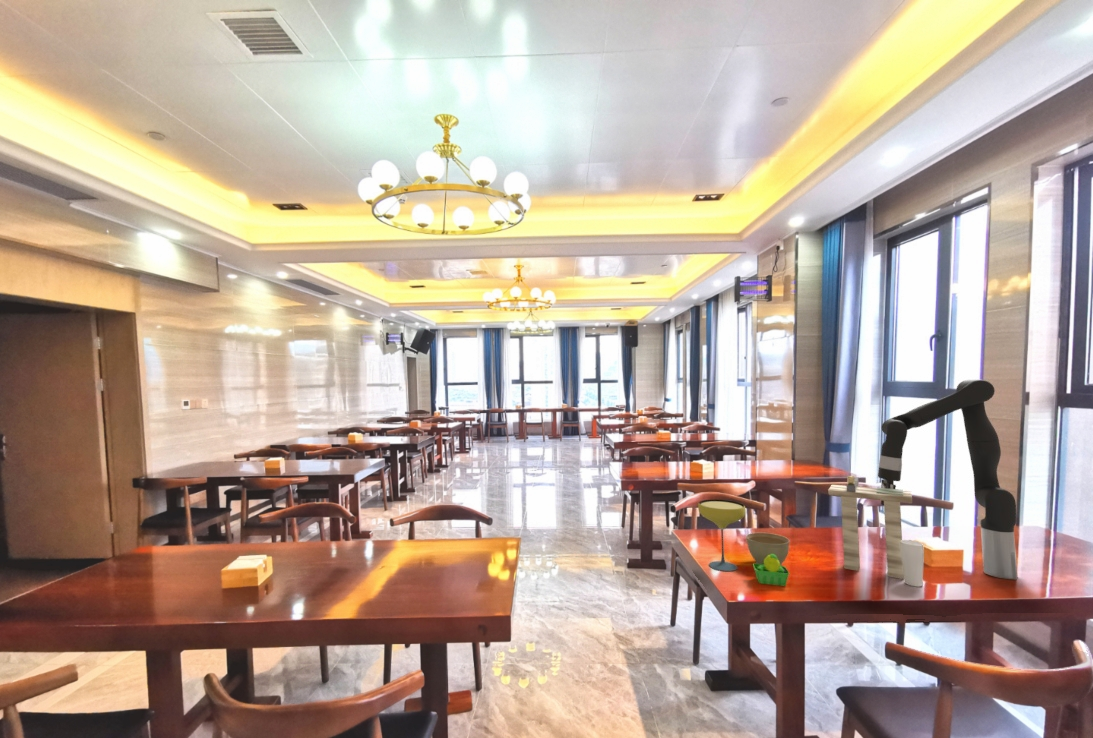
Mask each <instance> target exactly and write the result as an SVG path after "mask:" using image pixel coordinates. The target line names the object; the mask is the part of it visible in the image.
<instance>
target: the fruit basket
mask: <svg viewBox="0 0 1093 738" xmlns="http://www.w3.org/2000/svg"><path fill="white" fill-rule="evenodd" d="M752 565H753V566H752V567H753V569H754V572H755V573H754V574H755V577H756V579H757V582H758V583H759V584H761V585H764V584H765V585H772V586H773V585H774V586H783V587H786V585H787V582H788V578H789V576H790V572H789V571H788V569H787V567H786V566H783V565H782V566H780V562H779V560H778V558H777V557H776V555H774V554H770V555H768V556H767V557H766V558H765V559H764V564H756V563H752Z"/></svg>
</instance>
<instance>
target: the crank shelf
mask: <svg viewBox="0 0 1093 738" xmlns="http://www.w3.org/2000/svg"><path fill="white" fill-rule="evenodd" d="M827 491H828V496H835V497H840V503H841V521H842V522H841V524H842V529H841V530H842V546H843V551H842V552H843V568H844V569H846V570H852V571H855V572H856V571H857V572H860V571H861V561H860V541H859V539H860V538H859V518H858V515H859V514H858V499H863V500H873V501H881V500H882V501H884V505H883V511H884V527H885V529H884V530H885V531H884V532H885V548H886V567H887V568H886V569H887V577H889V578H894V579H900V580H904V572H903V565H902V559H901V552H900V541H901V540H903V533H902V530H903V529H902V514H901V513H902V511H901V503H904V504H910V505H911V504H913V496H912V491H909V490H908V491H907V490H903V489H896V488H895V489H888V488H881V487H877V488H875V487H864V486H863V487H862V486H858V487H857V489H856V492H850V491H847V485H845V484H843V485H841V484H831V485H830V487H829V488H828V489H827Z"/></svg>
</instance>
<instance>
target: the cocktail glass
mask: <svg viewBox="0 0 1093 738" xmlns="http://www.w3.org/2000/svg"><path fill="white" fill-rule="evenodd" d="M697 505H698V506H697V507H698V512H699V514H700V515H701V516H702V517H703V518H704V519H707V520H708V521H710V522H712V523H714V524H715V525H716V526H717V527H718V528H719V530H720V531H721V533H720V534H721V560H720V561H719V560H715V561H710V562H709V564H708V567H710V568H711V569H713V570H715V569H716V570H715V571H719V570H720V571H721V572H734V571H735V572H736V570H738V566H737V565H736V564H734V563H731V562H728V561H726V559H725V550H724V530H725V529H726V528H727V526H729V525H731V524H733V523H736V522H738V521H740V520H742V519H743V518H744V517H745V516H746V506H745V504H743V503H741V502H739V501H735V500H729V499H727V500H726V499H704V500H699V502H698V504H697Z"/></svg>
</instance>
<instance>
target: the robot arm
mask: <svg viewBox="0 0 1093 738" xmlns="http://www.w3.org/2000/svg"><path fill="white" fill-rule="evenodd" d="M955 391H956V392H953V393H952V394H949V395H947V396H944V397H941V398H939V399H936V400H932V401H930V402H927V403H925V404H922V405H920V406H917V407H915V408H913V409H911V410H909V411H907V412H905V413H901V414H899V415H897V416H893V417H891V418H888V419H886V420H885V421H884V422H883V423H882V424H881V431H882V433H883V434H884V435H885V439H884V442H883V443H882V445H881V450H880V457H879V463H878V472H877V477H878V478H879V479H881V483H880V484H881V485H880V488H888V489H896V487H897V486H896V485H897V484H895V483H894V482H901V478H902V477H901V476H902V469H903V460H902V459H903V450H904V449H903V448H904V445H905V442H906V439H907V437H908V430H911V429H915V428H920V427H923V426H925V425H927V424H930V423H932V422H934V421H935V420H938V419H940V418H942V417H944V416H947V415H949V414H951V413H954V412H956V411H959V410H961V413H962V417H963V424H964V429H965V434H966V442H967V443H966V444H967V447H968V452H969V457H970V462H971V467H972V472H973V485H974V486H973V487H974V488H973V489H974V498H975V500H976V502H977V503H978V505H980V506H981V507H982V508H984V512H985V514H984V518H981V519H980V535H981V549H982V565H983V566H982V567H983V573H984V574H987V575H989V576H992V577H995V578H1000V579H1005V580H1007V579H1008V580H1015V581H1017V580H1018V567H1017V566H1018V565H1017V562H1018V561H1017V552H1016V543H1015V526H1016V524H1017V502H1016V499H1015V496H1014V495H1013V494H1012V493H1011V492H1010V491H1008V490H1006V489H1004V488H1001V486H1000V482H999V479H998V466H999V463H1000V460H1001V455H1002V454H1001V453H1002V452H1001V451H1002V450H1001V445H1000V440H999V435H998V433H997V431H996V429H995V427H994V426H993V424H992V423H991V420H990V419H989V417H988V415H987V412H986V409H985V407H986V406H985V402H988V401H989V400H991V399H992V398H993V397H994V395H995V391H996V390H995V387H994V385H993V383H991V382H989V381H987V380H984V379H978V378H977V379H966V380H962V381H961V382H959V383H958V384H957V386H956V389H955ZM880 505H882V506H884V501H882V500H880Z"/></svg>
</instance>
